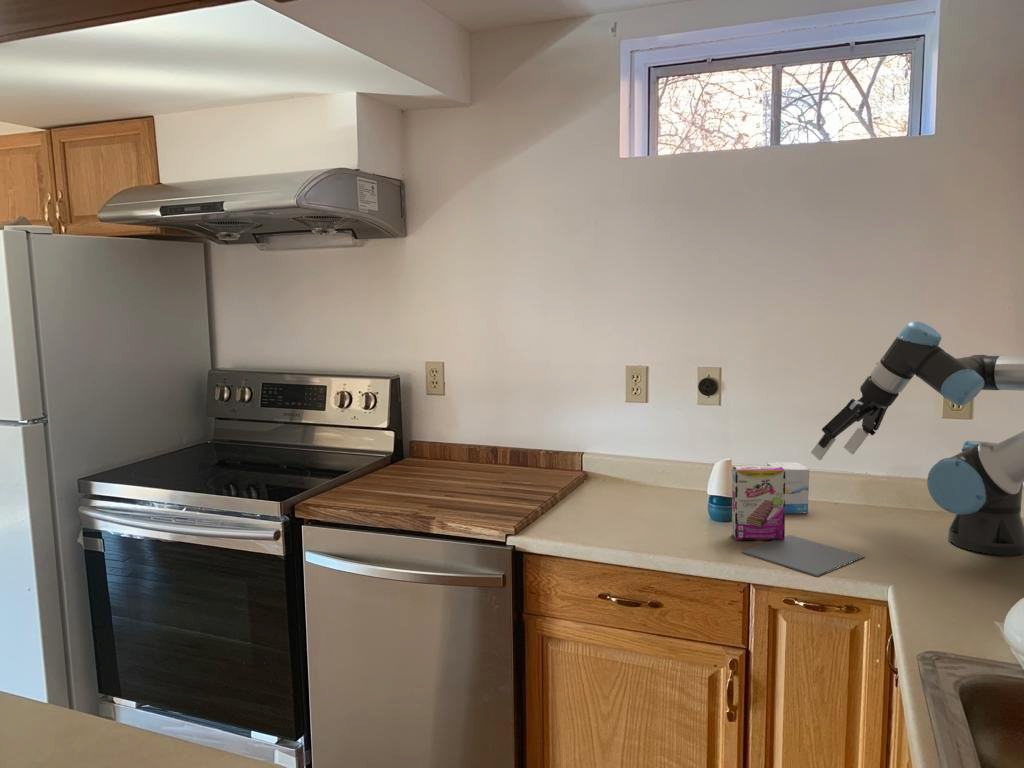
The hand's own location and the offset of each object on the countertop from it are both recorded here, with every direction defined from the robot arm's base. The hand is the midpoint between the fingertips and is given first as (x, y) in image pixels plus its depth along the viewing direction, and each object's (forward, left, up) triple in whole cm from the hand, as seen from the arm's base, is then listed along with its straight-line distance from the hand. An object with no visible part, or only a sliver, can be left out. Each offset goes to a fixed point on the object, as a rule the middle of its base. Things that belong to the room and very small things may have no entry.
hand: (832, 453), depth 185 cm
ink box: (+15, -4, -18) cm, 23 cm away
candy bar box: (+5, +22, -18) cm, 29 cm away
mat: (-8, +24, -18) cm, 31 cm away
